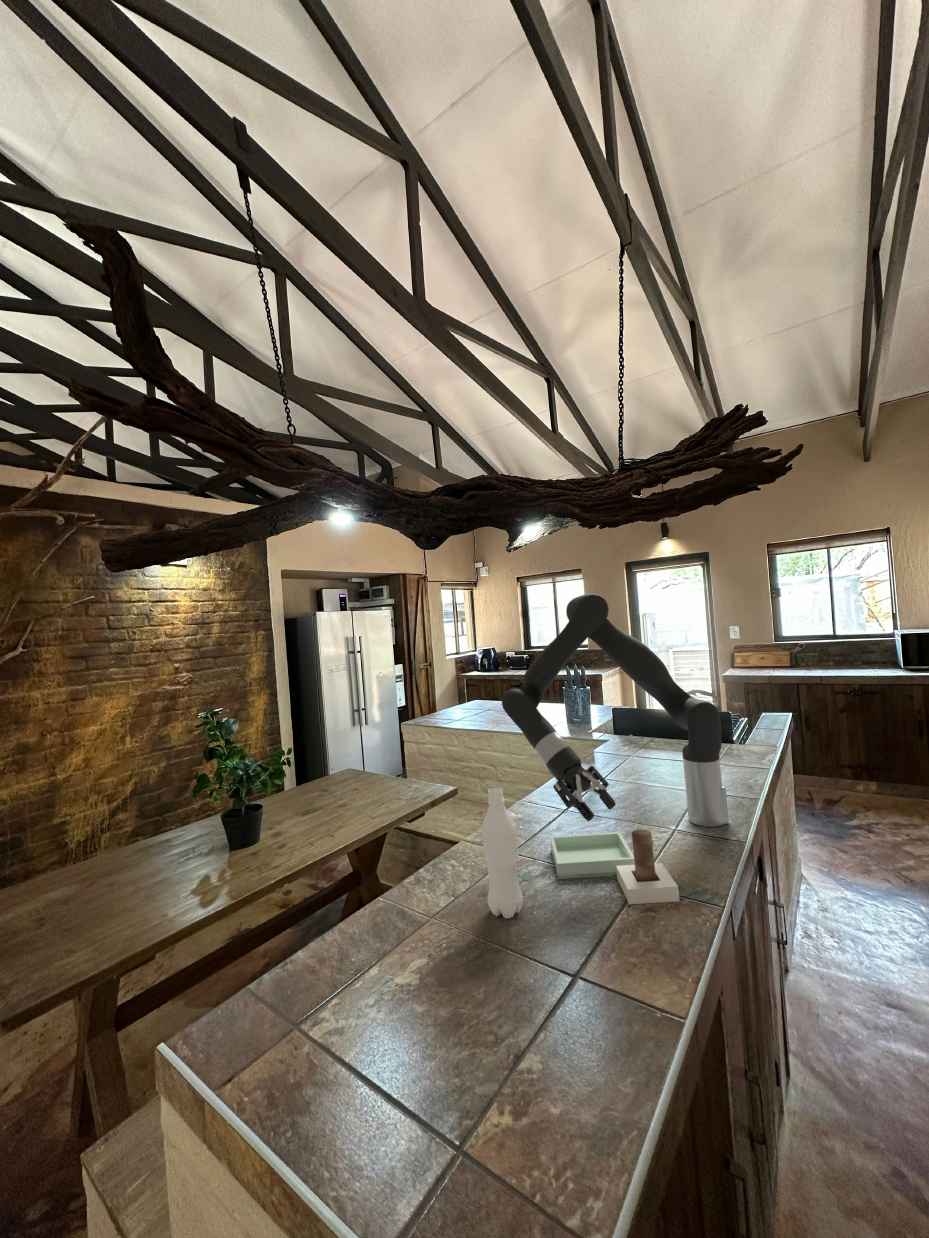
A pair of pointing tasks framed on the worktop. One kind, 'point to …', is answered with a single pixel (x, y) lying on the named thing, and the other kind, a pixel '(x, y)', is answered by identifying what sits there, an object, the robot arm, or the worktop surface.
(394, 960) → the worktop surface
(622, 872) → the dowel block
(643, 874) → the dowel
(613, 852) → the tray
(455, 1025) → the worktop surface
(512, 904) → the water bottle
